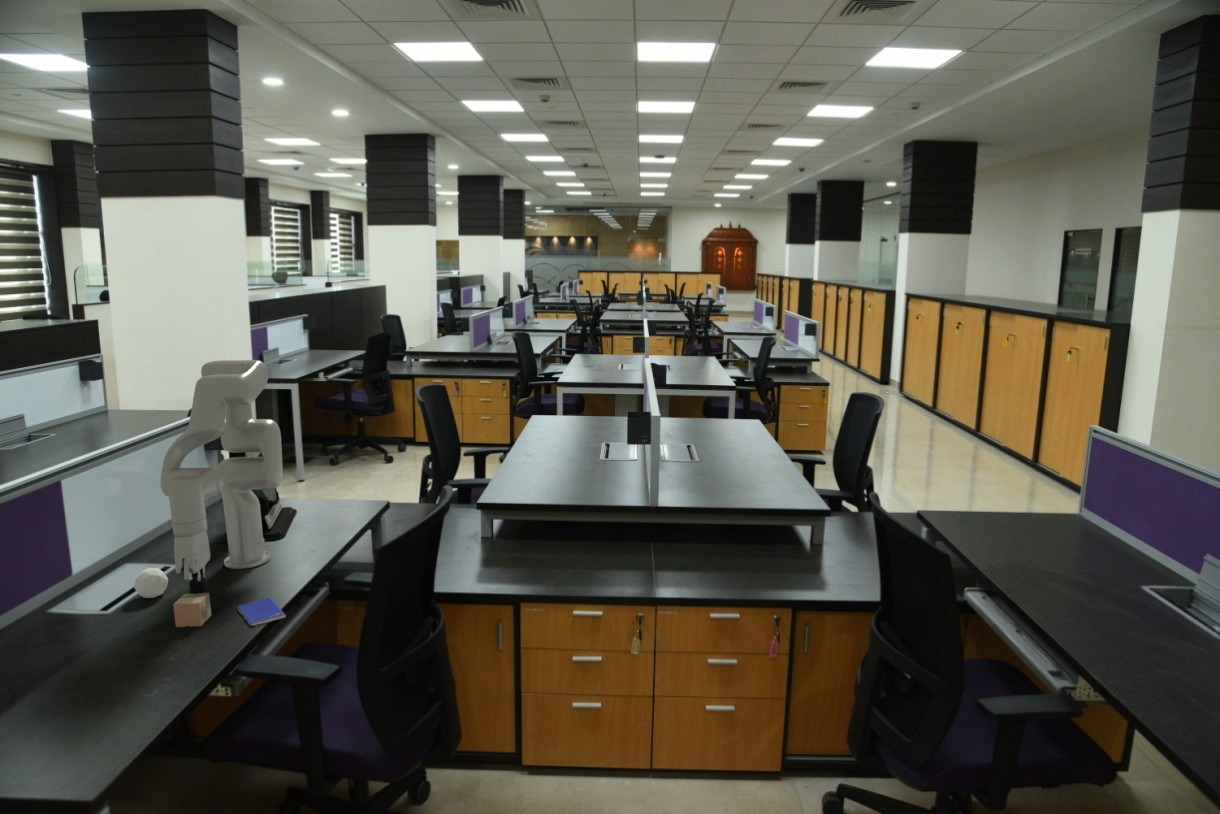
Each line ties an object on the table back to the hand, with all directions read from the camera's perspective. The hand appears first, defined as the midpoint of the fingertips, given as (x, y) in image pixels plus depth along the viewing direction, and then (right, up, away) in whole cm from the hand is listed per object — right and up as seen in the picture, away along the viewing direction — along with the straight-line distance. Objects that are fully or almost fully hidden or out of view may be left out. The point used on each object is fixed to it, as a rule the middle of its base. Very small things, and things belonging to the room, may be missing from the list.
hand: (198, 594), depth 197 cm
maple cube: (0, -2, -1) cm, 3 cm away
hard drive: (+16, -6, +1) cm, 17 cm away
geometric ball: (-18, -3, +11) cm, 22 cm away
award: (-13, +7, +64) cm, 66 cm away
